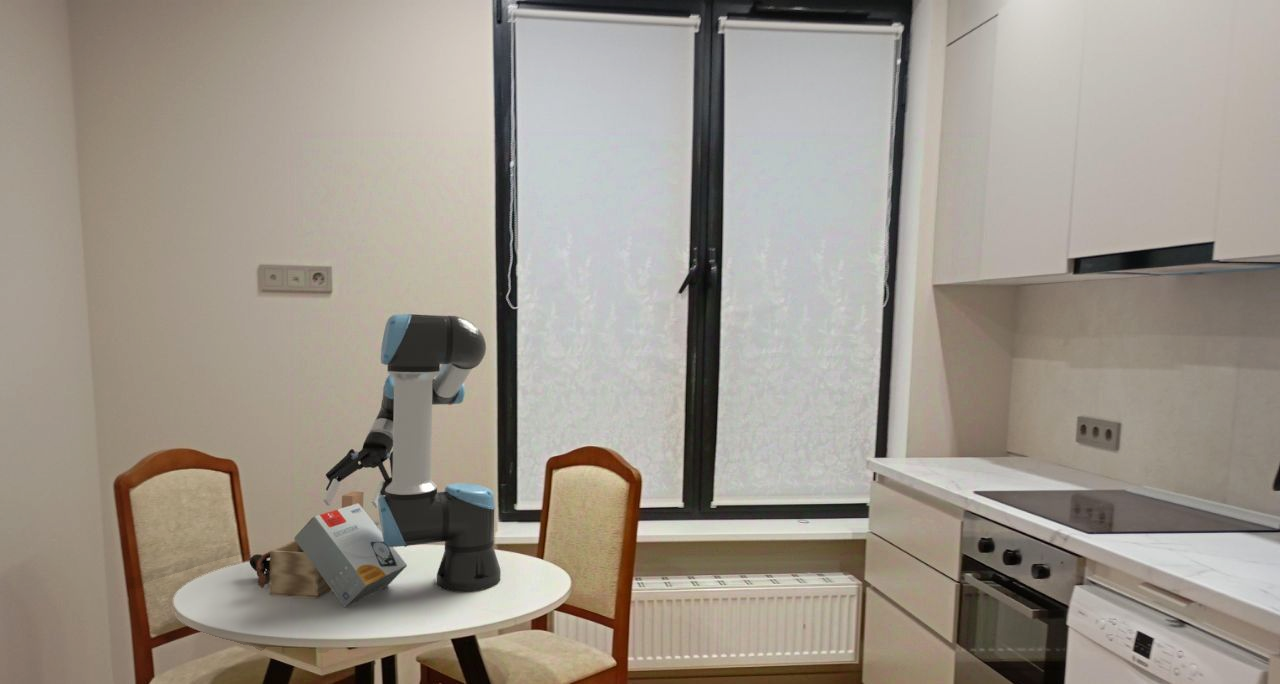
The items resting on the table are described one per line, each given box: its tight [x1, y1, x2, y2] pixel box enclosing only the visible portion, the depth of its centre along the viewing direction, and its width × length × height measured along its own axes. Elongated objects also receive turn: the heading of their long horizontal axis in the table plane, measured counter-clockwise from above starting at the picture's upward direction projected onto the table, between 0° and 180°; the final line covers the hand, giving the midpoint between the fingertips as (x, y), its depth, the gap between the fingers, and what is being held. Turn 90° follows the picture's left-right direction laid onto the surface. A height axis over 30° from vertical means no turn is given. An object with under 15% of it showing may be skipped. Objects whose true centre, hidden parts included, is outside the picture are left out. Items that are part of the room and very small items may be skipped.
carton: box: [268, 540, 333, 599], centre depth 157 cm, size 12×14×10 cm
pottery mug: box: [249, 551, 270, 588], centre depth 160 cm, size 12×10×8 cm
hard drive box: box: [293, 503, 408, 608], centre depth 152 cm, size 16×8×20 cm
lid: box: [341, 491, 380, 527], centre depth 168 cm, size 13×14×8 cm
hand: (350, 503), depth 172 cm, fingers open, 13 cm apart
